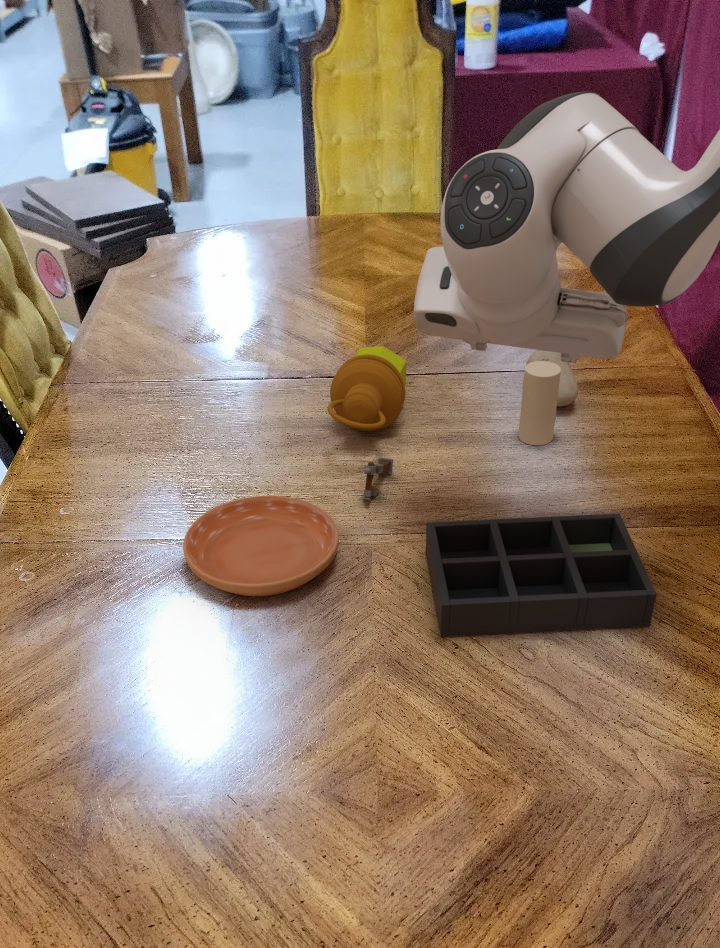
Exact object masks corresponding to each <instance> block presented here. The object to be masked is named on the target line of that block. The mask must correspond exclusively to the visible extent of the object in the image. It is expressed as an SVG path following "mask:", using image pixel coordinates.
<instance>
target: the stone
mask: <svg viewBox="0 0 720 948" xmlns="http://www.w3.org/2000/svg"><path fill="white" fill-rule="evenodd" d="M535 361H547V362H552V363H555V364H557V365H558V366H559V367H560V368H561V374H560V383H559V391H558V399H557V407H564V406H565V407H566V406H568V405H570V404H572V403H574V402H575V400H576V399H577V397H578V394H579V387H578V382H577V378H576V375H575V372H574V370H573V368H572V365H571V363H570V362H563V361H561V353H558V352H550V351H543V350H535V351H534V352H533V353H532V354H531V355H530V356H529V357H528V359H527V360H526V364H525V366H526V365H527V364H529V363H531V362H535Z"/></svg>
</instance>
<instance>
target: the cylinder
mask: <svg viewBox="0 0 720 948" xmlns="http://www.w3.org/2000/svg"><path fill="white" fill-rule="evenodd" d="M560 374H561V368H560V367H559V366H558V365H557V364H555V363H552V362H547V361H535V362H531V363H529V364H527V365H526V364H525V367H524V372H523V383H522V393H521V405H520V415H519V426H518V439H519V441H521V442H522V443H524V444H527V445H529V446H544V445H548V444H550V443H551V442H552V441H553V439H554V432H555V423H556V415H557V408H558V406H557V399H558V391H559V383H560Z"/></svg>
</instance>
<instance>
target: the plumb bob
mask: <svg viewBox="0 0 720 948" xmlns="http://www.w3.org/2000/svg"><path fill="white" fill-rule="evenodd" d="M406 386H407V360H406V358H404V357H402V356H400V355H398V354H396V353H395V352H394V351H392V350H390V349H388V348H387V347H386V346H384V345H379V346H367V347H365V346H364V347H359V349H358V350H357V352H356V354H355V355H354V356H352V357H350V358H349V359H348V360H346V361H345V362H343V363H342V365H341V366H339V368H338V369H337V371H336V373H335V375H334V376H333V379H332V380H331V384H330V390H329V391H330V392H329V397H330V402H329V403H328V405H327V413H328V414H329V416H330V417H331V418H332V419H334V421H336V422H338V423H339V424H342V425H345V426H347V427H350V428H352V429H355V430H356V431H357V430H358V431H361V432H375V431H380V430H382V429H385V428H386V427H388V426H390V425H391V424H392V423H393V422H395V420H396V419H397V418H398V416H399V415H400V413H401V411H402V408H403V405H404V403H405V399H406Z"/></svg>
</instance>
